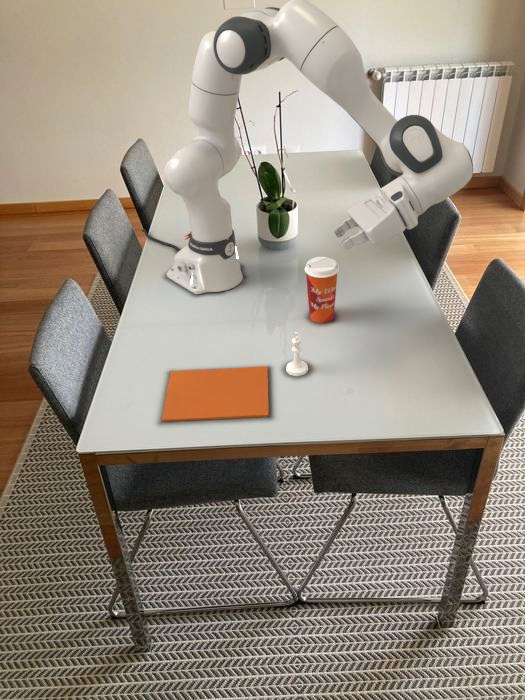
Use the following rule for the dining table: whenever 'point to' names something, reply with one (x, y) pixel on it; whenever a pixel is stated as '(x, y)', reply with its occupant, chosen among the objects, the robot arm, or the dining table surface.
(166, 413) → the cloth mat
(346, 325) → the dining table surface
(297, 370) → the chess piece
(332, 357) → the dining table surface
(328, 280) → the coffee cup
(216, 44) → the robot arm
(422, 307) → the dining table surface
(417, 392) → the dining table surface
